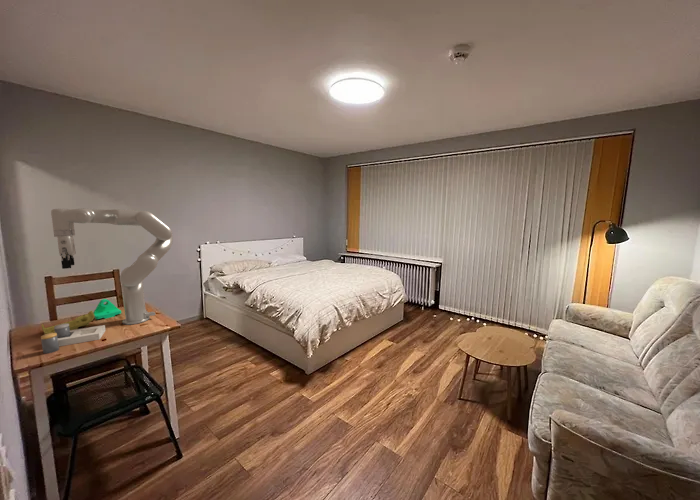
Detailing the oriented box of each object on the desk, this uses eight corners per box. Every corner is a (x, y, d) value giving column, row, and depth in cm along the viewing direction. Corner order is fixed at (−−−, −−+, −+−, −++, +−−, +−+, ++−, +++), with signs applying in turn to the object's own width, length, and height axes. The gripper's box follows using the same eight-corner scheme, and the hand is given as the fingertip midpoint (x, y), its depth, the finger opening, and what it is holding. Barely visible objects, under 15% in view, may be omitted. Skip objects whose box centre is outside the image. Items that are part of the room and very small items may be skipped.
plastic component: (45, 334, 141) (40, 322, 146) (48, 345, 144) (43, 332, 149) (97, 319, 157) (91, 308, 161) (98, 329, 160) (92, 318, 164)
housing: (105, 331, 150) (104, 325, 150) (99, 340, 140) (98, 333, 139) (53, 339, 140) (52, 333, 140) (42, 350, 130) (41, 343, 130)
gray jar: (61, 348, 132) (58, 331, 131) (56, 352, 128) (54, 336, 127) (46, 350, 130) (43, 334, 128) (41, 355, 125) (38, 338, 124)
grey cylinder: (72, 338, 141) (70, 322, 140) (69, 342, 137) (66, 326, 136) (58, 340, 139) (56, 324, 138) (54, 344, 135) (52, 328, 133)
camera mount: (96, 321, 165) (94, 304, 163) (93, 318, 169) (90, 301, 167) (122, 314, 174) (120, 298, 173) (117, 312, 179) (116, 296, 177)
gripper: (71, 234, 138) (76, 268, 141) (77, 232, 152) (81, 263, 154) (49, 234, 134) (54, 270, 136) (57, 232, 148) (61, 265, 150)
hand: (68, 266), depth 145 cm, fingers open, 9 cm apart
